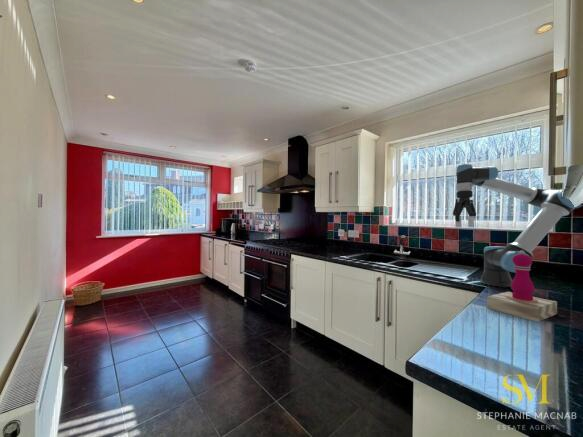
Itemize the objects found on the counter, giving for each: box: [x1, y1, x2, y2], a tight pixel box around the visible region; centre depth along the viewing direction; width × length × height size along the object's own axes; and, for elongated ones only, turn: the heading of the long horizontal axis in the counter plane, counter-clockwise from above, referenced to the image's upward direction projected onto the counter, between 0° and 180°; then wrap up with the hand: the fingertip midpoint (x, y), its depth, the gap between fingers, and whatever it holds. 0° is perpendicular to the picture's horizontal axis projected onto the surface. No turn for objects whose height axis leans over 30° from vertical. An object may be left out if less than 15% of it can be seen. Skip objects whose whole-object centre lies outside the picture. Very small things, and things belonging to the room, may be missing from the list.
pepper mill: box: [510, 251, 535, 301], centre depth 101 cm, size 7×7×20 cm
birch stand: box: [486, 291, 558, 322], centre depth 101 cm, size 18×16×5 cm
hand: (464, 227), depth 140 cm, fingers open, 13 cm apart
